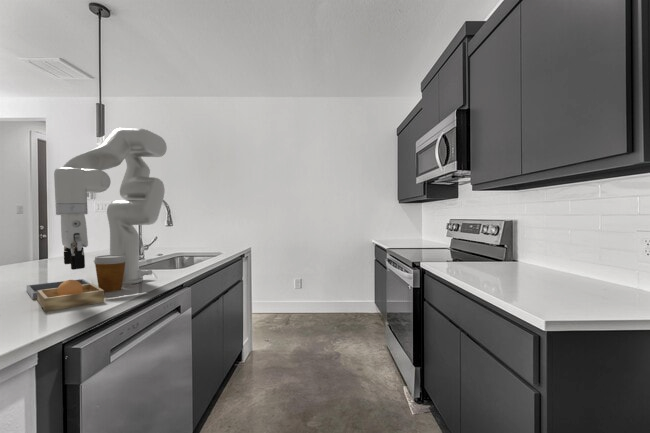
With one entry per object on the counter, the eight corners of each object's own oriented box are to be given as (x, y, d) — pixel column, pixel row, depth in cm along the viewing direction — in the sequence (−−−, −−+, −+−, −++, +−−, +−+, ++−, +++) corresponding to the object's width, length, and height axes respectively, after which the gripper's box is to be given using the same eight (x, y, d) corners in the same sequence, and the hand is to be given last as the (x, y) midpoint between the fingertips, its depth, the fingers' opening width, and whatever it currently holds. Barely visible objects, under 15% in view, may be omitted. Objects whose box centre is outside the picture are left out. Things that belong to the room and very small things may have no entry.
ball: (80, 296, 102) (80, 277, 102) (85, 299, 98) (84, 279, 97) (55, 300, 97) (55, 280, 97) (59, 304, 93) (59, 283, 93)
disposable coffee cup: (133, 289, 114) (133, 255, 114) (107, 296, 105) (107, 258, 105) (112, 287, 117) (113, 254, 117) (86, 293, 108) (86, 257, 108)
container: (82, 285, 119) (82, 279, 119) (93, 292, 109) (93, 285, 109) (26, 293, 108) (26, 285, 108) (32, 301, 97) (32, 293, 97)
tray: (92, 294, 107) (92, 283, 107) (103, 302, 98) (104, 290, 98) (37, 302, 97) (37, 290, 97) (44, 311, 88) (44, 298, 88)
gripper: (94, 210, 94) (96, 268, 96) (80, 208, 106) (82, 260, 107) (61, 211, 89) (64, 273, 90) (50, 208, 101) (53, 263, 102)
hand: (74, 266), depth 99 cm, fingers open, 9 cm apart
